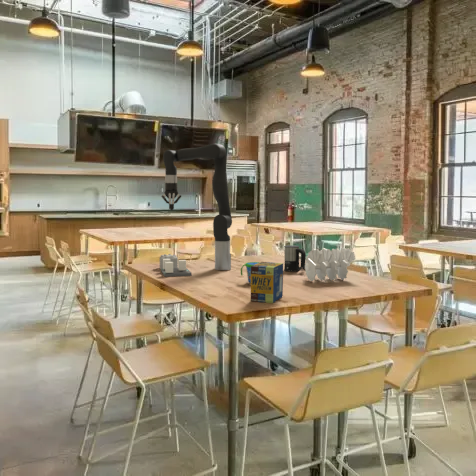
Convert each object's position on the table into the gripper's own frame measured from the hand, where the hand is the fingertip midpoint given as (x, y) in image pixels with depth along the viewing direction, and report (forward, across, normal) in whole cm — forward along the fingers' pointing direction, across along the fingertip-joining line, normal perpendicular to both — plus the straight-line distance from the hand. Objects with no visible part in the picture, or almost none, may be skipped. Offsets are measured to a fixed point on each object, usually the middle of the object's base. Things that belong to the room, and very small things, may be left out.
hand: (171, 210), depth 330 cm
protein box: (+35, -29, +111) cm, 120 cm away
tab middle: (+33, -2, +33) cm, 46 cm away
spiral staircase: (+35, -74, +73) cm, 110 cm away
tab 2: (+33, +6, +39) cm, 51 cm away
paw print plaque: (+35, +4, +12) cm, 38 cm away
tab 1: (+33, +6, +26) cm, 42 cm away
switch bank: (+35, +2, +32) cm, 48 cm away
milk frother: (+35, -71, +35) cm, 87 cm away
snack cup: (+35, -35, +71) cm, 87 cm away
